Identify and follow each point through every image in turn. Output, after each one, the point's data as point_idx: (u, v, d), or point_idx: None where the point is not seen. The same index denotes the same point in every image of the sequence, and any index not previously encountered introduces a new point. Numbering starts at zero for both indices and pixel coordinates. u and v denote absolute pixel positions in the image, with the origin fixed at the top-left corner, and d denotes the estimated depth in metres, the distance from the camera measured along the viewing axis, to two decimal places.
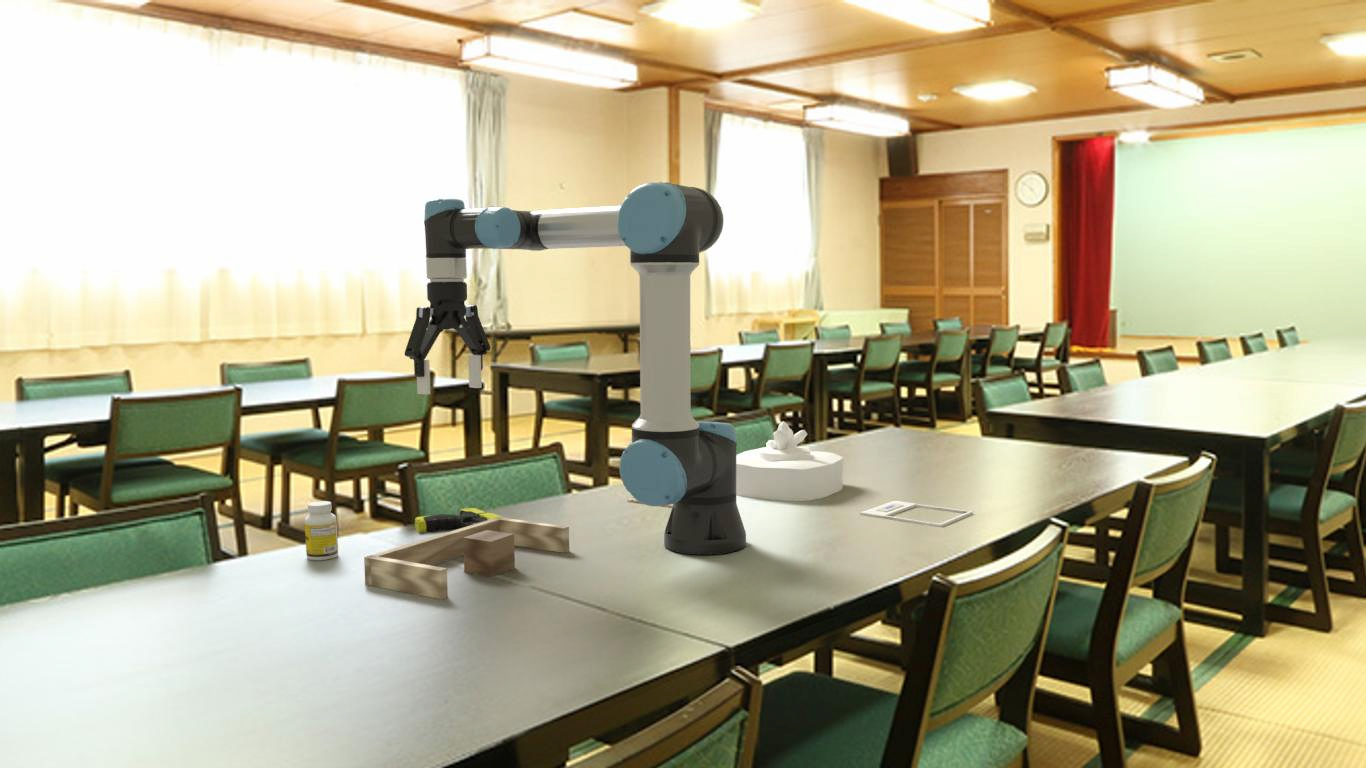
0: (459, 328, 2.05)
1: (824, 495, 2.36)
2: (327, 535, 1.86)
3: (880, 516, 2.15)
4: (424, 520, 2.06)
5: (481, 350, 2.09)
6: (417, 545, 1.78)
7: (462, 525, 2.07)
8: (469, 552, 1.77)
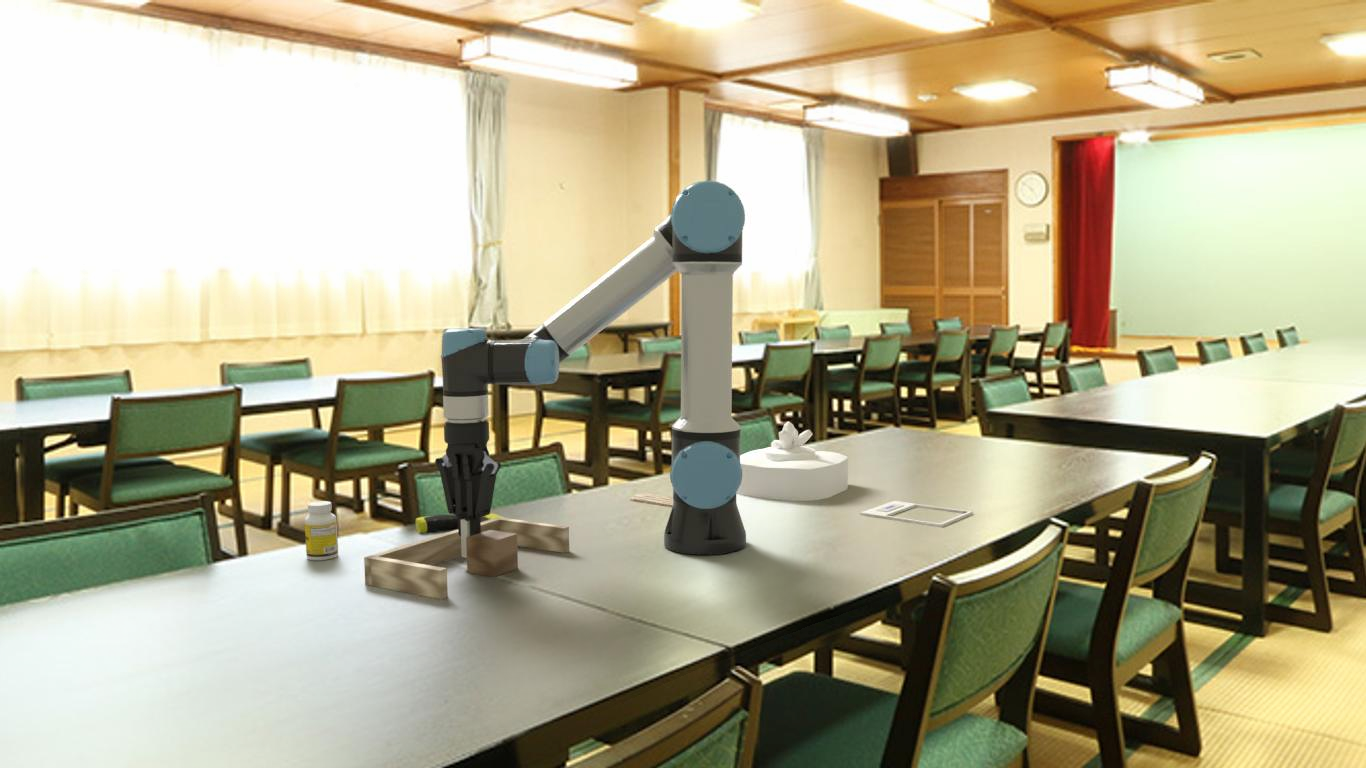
0: None
1: (830, 495, 2.36)
2: (327, 535, 1.86)
3: (880, 516, 2.15)
4: (425, 521, 2.06)
5: (469, 515, 1.78)
6: (417, 545, 1.78)
7: None
8: (472, 552, 1.76)
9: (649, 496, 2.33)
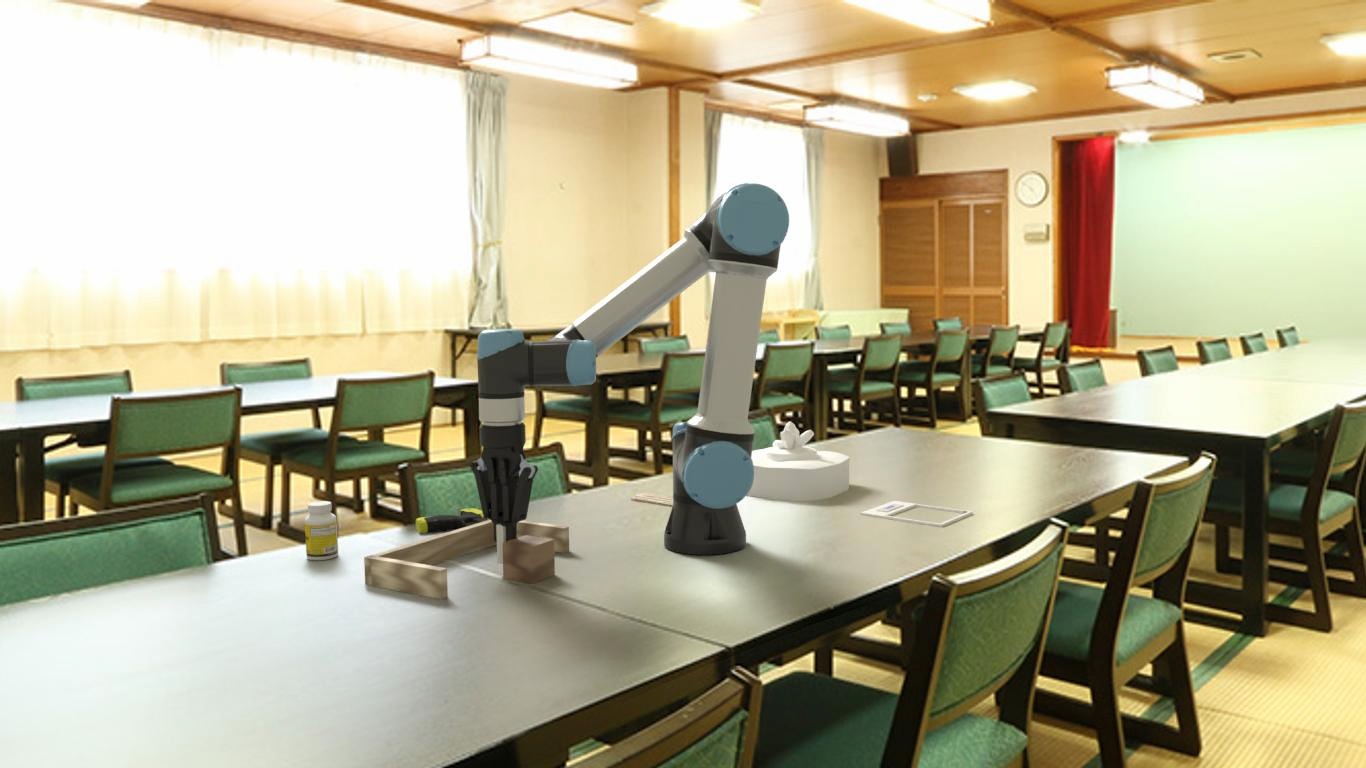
0: None
1: (832, 495, 2.36)
2: (327, 535, 1.86)
3: (880, 516, 2.15)
4: (425, 521, 2.06)
5: (505, 520, 1.74)
6: (417, 545, 1.78)
7: (463, 526, 2.06)
8: (508, 558, 1.72)
9: (650, 496, 2.34)
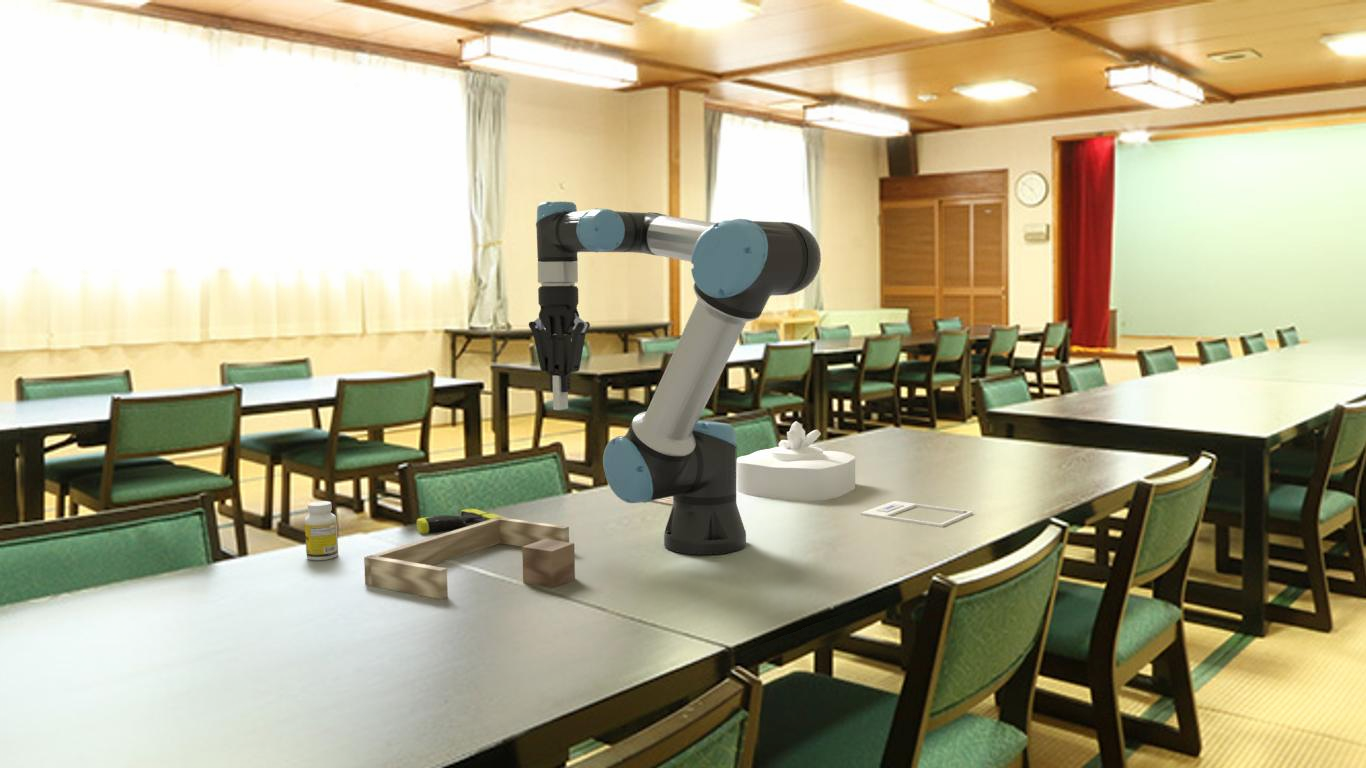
0: None
1: (839, 494, 2.36)
2: (327, 535, 1.86)
3: (880, 516, 2.15)
4: (426, 521, 2.05)
5: (561, 370, 1.98)
6: (417, 545, 1.78)
7: (465, 526, 2.06)
8: (529, 562, 1.70)
9: None
